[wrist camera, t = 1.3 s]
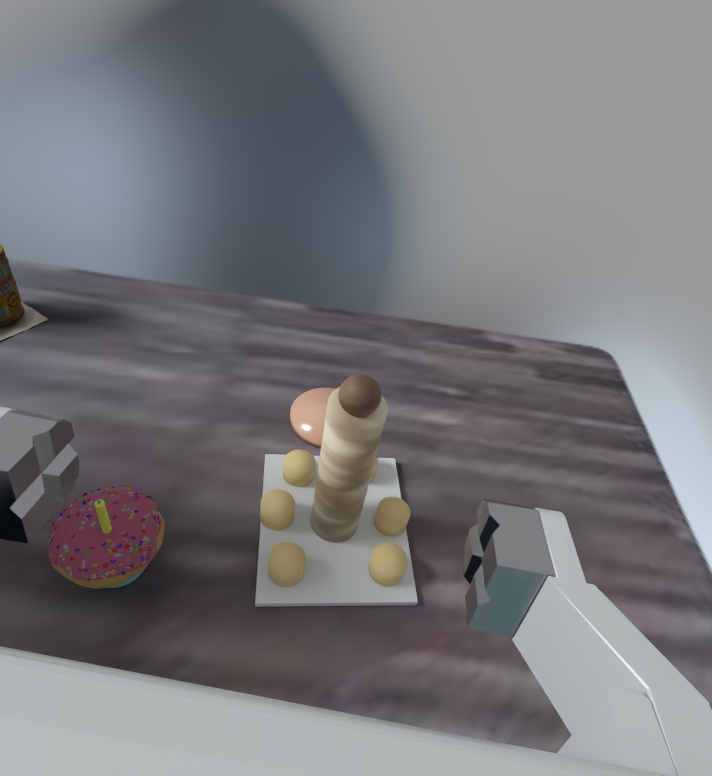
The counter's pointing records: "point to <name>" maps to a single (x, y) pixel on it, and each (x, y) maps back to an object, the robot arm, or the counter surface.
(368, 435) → the pepper mill
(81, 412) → the counter surface
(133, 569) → the cupcake
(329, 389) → the coaster
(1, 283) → the condiment
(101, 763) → the robot arm
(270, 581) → the mat
